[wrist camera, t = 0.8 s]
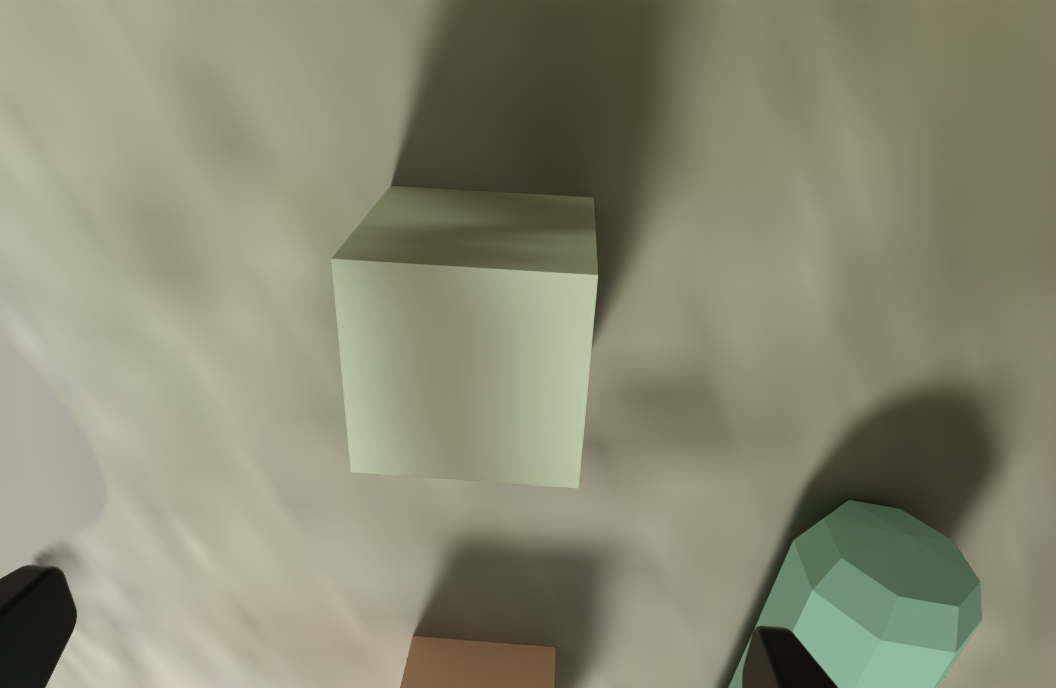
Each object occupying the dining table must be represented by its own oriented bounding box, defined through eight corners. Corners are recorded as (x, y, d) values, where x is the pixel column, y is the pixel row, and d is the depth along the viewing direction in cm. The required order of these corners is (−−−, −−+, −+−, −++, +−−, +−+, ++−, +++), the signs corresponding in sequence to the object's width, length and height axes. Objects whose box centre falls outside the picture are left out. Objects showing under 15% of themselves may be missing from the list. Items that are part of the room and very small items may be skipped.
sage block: (593, 196, 18) (597, 274, 14) (578, 372, 20) (578, 488, 16) (391, 185, 18) (331, 258, 14) (399, 360, 21) (350, 471, 16)
